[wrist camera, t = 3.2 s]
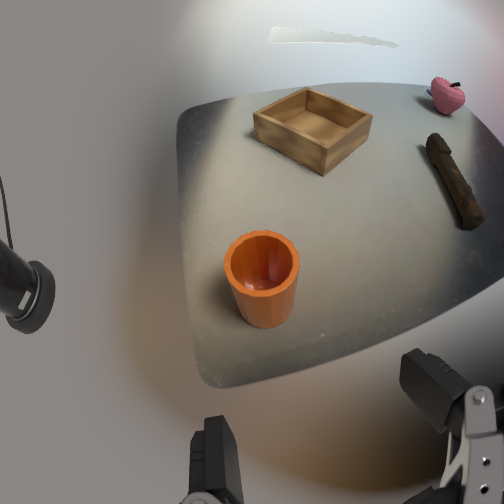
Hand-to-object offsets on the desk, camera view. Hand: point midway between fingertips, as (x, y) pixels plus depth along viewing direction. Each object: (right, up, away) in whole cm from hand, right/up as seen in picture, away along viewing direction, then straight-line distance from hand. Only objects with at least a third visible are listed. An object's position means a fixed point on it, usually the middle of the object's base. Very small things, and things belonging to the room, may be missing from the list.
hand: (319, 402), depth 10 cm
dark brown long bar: (+28, +17, +25) cm, 42 cm away
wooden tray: (+7, +25, +32) cm, 41 cm away
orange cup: (-1, +1, +18) cm, 18 cm away
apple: (+43, +40, +37) cm, 70 cm away
